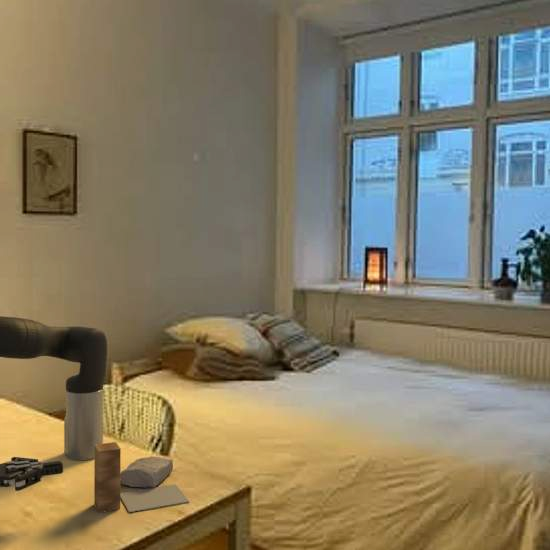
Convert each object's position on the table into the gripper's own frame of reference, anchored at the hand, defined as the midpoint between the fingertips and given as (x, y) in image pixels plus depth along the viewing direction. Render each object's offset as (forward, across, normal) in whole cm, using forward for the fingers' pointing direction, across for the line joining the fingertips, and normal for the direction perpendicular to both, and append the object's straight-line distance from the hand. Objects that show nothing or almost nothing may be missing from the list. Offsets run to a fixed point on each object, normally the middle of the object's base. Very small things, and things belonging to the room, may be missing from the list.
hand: (62, 466), depth 130 cm
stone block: (+20, +12, +10) cm, 26 cm away
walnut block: (+9, 0, +10) cm, 14 cm away
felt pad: (+19, 0, +10) cm, 22 cm away
